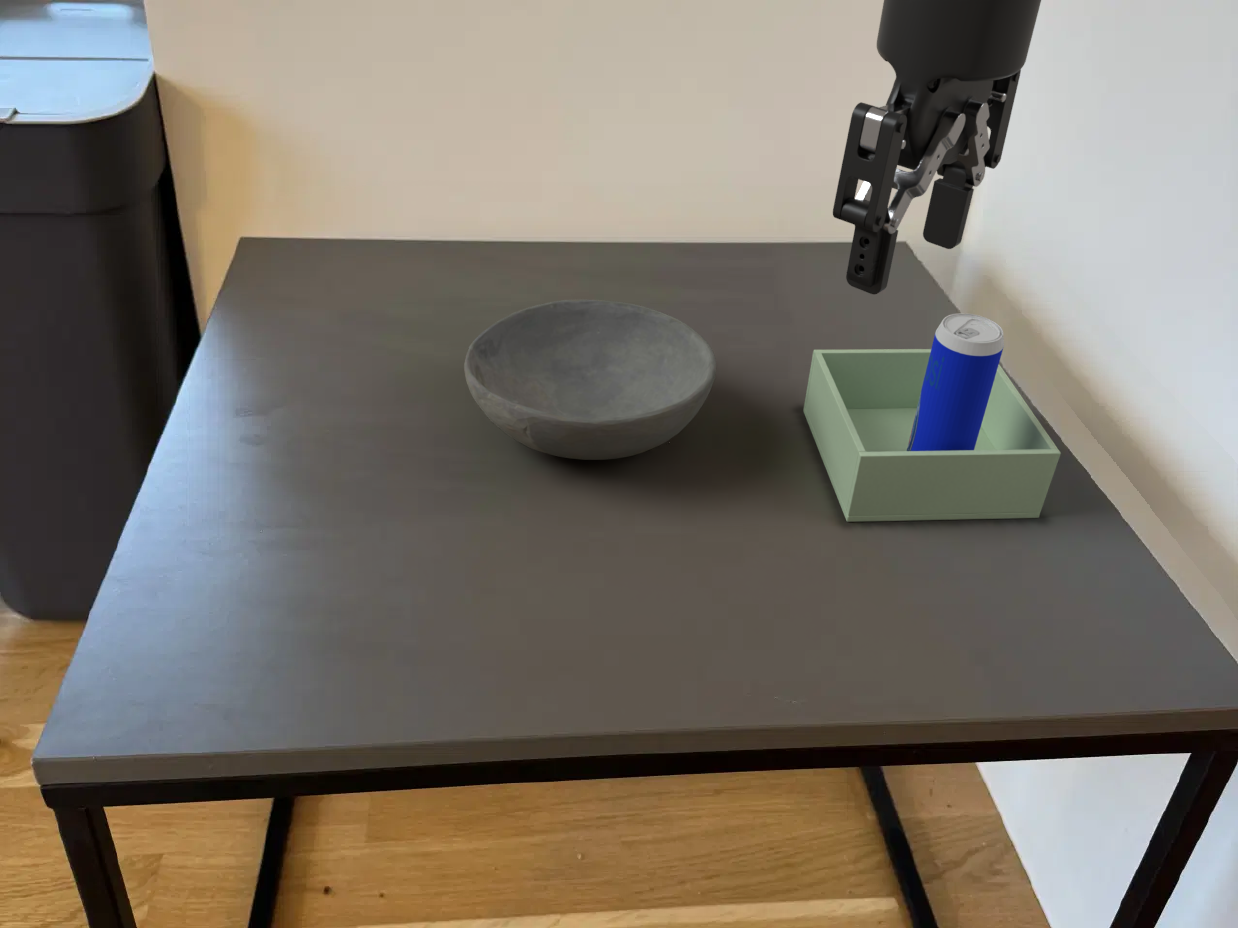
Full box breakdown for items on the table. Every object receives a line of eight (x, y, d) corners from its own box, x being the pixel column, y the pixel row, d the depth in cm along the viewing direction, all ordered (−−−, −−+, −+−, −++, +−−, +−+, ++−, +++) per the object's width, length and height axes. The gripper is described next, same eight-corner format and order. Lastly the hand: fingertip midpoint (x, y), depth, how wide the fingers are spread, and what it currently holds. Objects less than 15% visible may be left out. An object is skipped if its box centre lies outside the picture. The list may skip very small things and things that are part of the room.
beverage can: (923, 458, 96) (962, 305, 87) (974, 486, 93) (1020, 330, 84) (887, 481, 93) (924, 324, 84) (939, 511, 90) (983, 351, 81)
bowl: (525, 529, 87) (524, 446, 82) (434, 397, 101) (429, 320, 97) (751, 464, 95) (762, 386, 90) (637, 351, 110) (641, 278, 105)
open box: (1038, 518, 91) (1061, 453, 87) (846, 522, 89) (860, 456, 85) (971, 409, 104) (988, 348, 100) (803, 411, 102) (813, 349, 98)
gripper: (969, 2, 48) (897, 330, 57) (1101, -42, 57) (1019, 249, 66) (824, -31, 52) (779, 282, 61) (968, -67, 61) (909, 212, 70)
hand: (904, 265), depth 64 cm, fingers open, 8 cm apart
